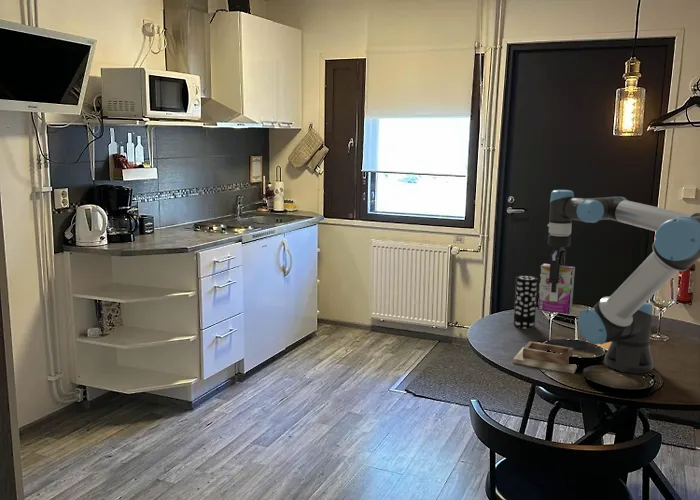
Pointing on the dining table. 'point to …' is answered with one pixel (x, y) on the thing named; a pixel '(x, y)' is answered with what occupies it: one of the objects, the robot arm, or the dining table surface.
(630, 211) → the robot arm
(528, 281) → the white-spotted black cylinder
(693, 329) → the dining table surface
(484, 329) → the dining table surface
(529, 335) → the dining table surface
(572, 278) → the candy bar box
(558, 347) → the stand
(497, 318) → the dining table surface
